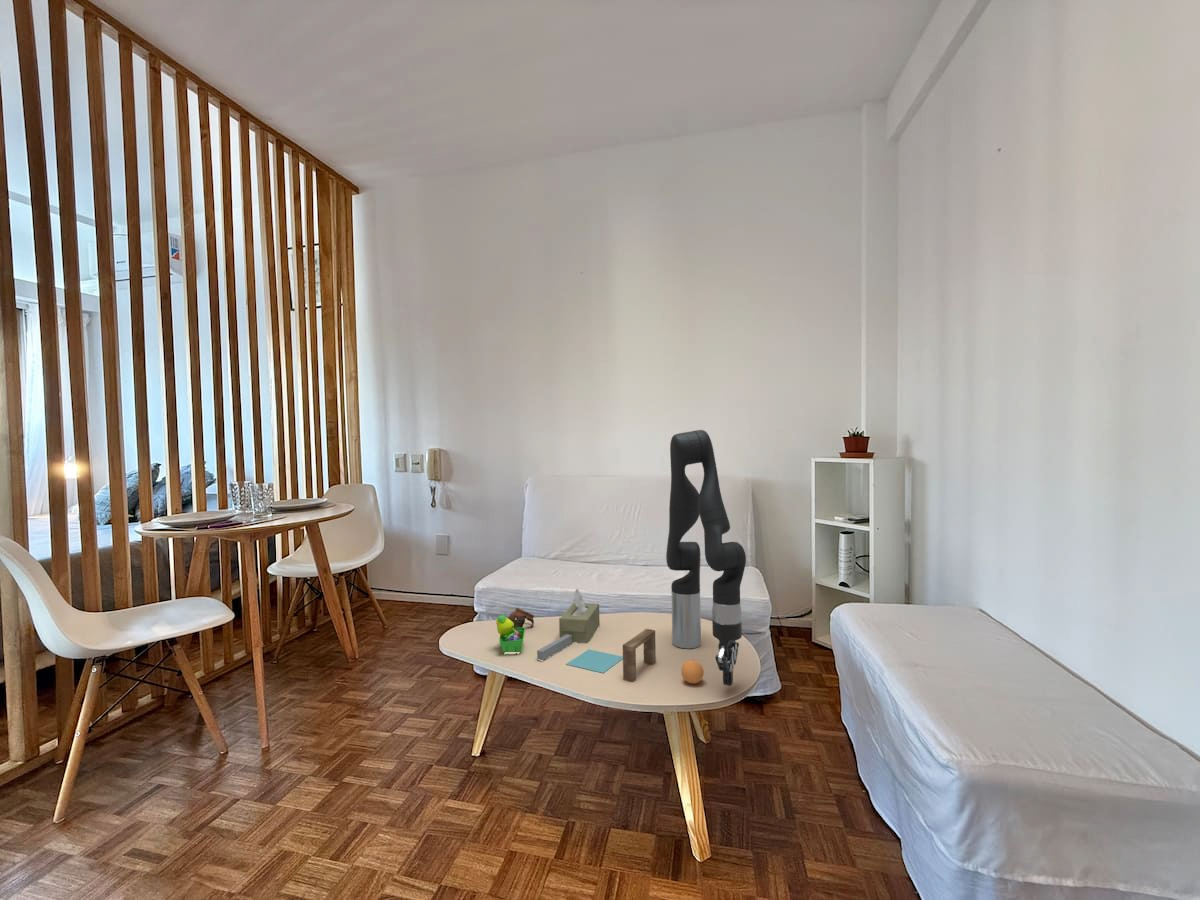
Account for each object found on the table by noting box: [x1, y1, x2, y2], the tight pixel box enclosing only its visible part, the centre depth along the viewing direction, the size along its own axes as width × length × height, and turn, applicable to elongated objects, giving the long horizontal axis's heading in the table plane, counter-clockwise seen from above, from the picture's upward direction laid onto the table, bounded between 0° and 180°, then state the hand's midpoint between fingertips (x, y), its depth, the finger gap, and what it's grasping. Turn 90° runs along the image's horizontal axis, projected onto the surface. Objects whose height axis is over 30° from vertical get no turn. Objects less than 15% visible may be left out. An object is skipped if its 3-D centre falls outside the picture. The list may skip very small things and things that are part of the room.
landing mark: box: [566, 648, 623, 674], centre depth 163 cm, size 13×13×1 cm
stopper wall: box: [536, 634, 573, 660], centre depth 170 cm, size 16×2×3 cm, turn 149°
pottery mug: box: [507, 607, 535, 628], centre depth 192 cm, size 12×10×8 cm
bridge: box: [622, 628, 657, 683], centre depth 155 cm, size 3×15×10 cm, turn 149°
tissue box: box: [558, 587, 600, 644], centre depth 187 cm, size 19×10×16 cm, turn 168°
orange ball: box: [680, 659, 704, 684], centre depth 147 cm, size 6×6×6 cm
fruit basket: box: [495, 614, 526, 653], centre depth 173 cm, size 11×9×11 cm
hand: (728, 684), depth 141 cm, fingers closed
